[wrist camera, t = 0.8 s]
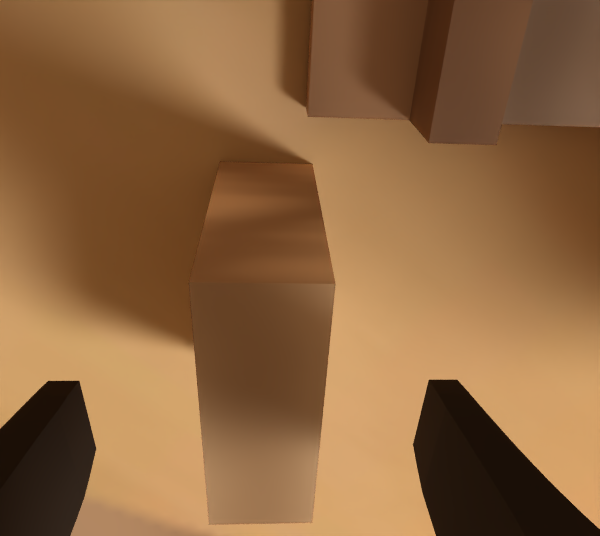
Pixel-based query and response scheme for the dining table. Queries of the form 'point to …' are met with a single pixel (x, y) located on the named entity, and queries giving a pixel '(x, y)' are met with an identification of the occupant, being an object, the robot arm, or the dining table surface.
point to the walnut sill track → (456, 64)
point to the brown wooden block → (262, 341)
